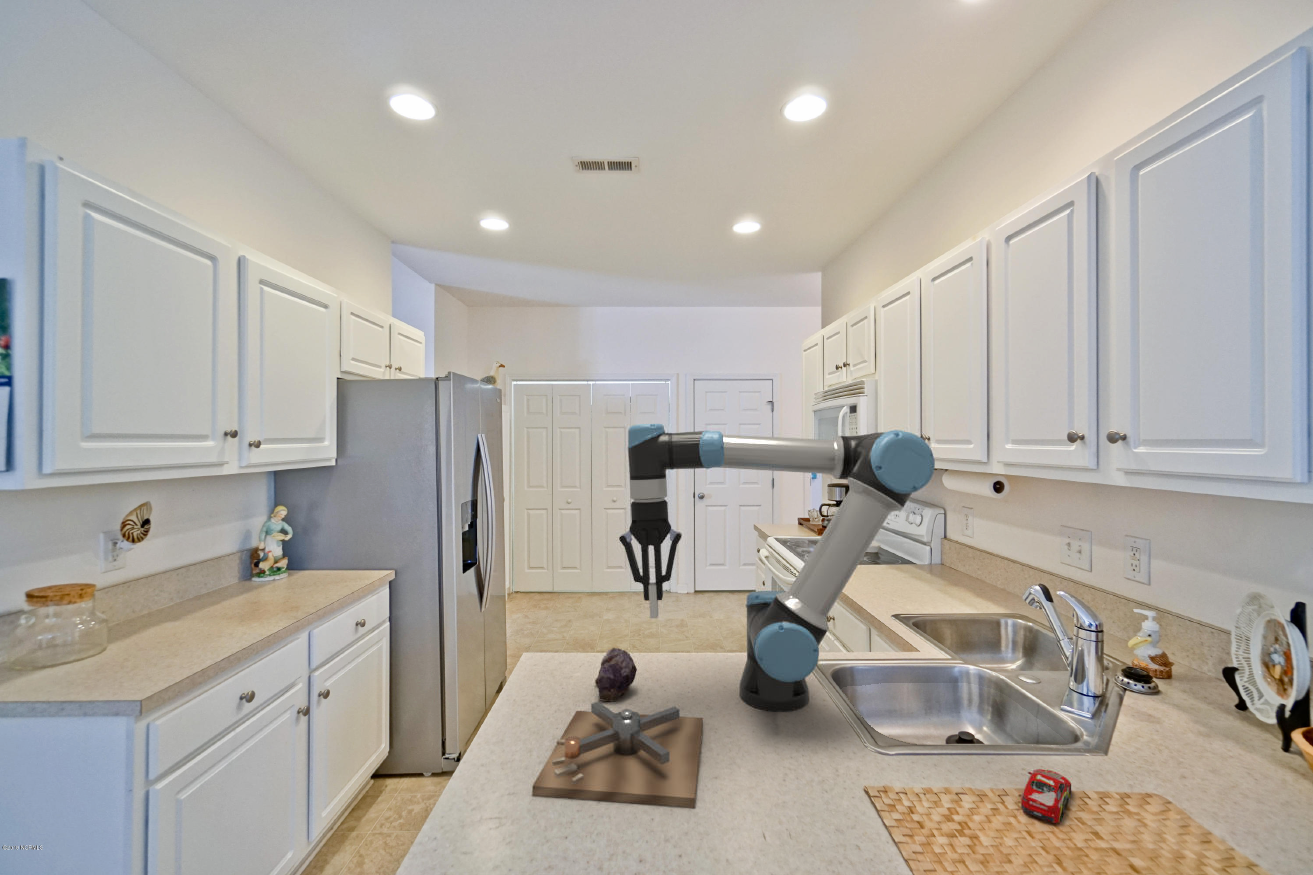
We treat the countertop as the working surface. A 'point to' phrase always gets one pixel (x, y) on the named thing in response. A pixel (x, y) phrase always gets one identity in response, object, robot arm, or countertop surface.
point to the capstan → (624, 733)
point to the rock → (615, 674)
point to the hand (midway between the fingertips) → (654, 616)
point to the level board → (626, 766)
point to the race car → (1046, 795)
